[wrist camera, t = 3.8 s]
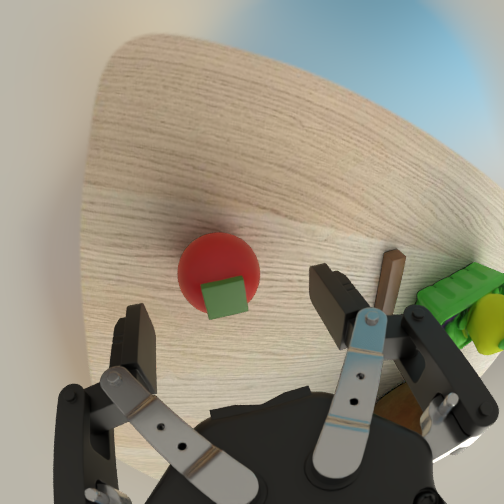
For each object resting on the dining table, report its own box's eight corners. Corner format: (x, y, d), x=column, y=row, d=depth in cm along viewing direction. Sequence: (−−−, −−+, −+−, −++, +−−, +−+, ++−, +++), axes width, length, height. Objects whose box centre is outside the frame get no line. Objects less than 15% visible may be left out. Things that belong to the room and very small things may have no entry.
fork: (370, 384, 32) (374, 391, 31) (344, 394, 32) (348, 402, 31) (408, 245, 22) (417, 253, 21) (372, 255, 21) (380, 263, 20)
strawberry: (185, 289, 19) (191, 341, 15) (168, 228, 17) (168, 273, 13) (252, 274, 20) (273, 322, 16) (245, 212, 17) (267, 251, 13)
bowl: (304, 417, 32) (333, 486, 24) (458, 317, 31) (504, 370, 22) (343, 447, 44) (363, 491, 36) (448, 380, 43) (475, 418, 34)
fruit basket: (398, 339, 28) (456, 418, 19) (410, 275, 24) (493, 365, 14) (468, 299, 29) (525, 359, 20) (485, 238, 25) (559, 299, 15)
